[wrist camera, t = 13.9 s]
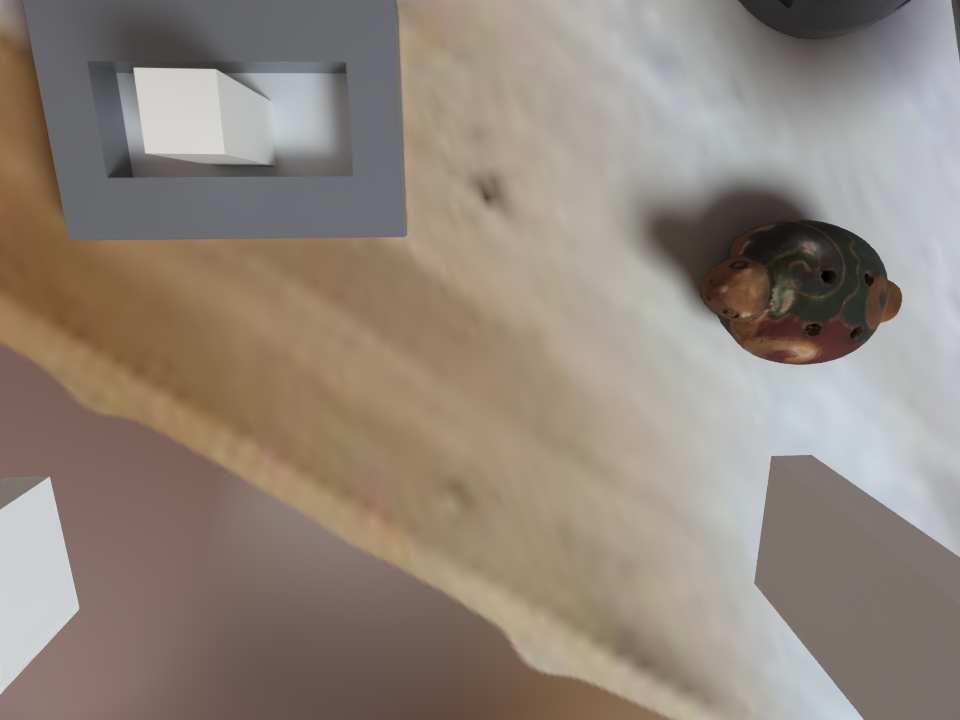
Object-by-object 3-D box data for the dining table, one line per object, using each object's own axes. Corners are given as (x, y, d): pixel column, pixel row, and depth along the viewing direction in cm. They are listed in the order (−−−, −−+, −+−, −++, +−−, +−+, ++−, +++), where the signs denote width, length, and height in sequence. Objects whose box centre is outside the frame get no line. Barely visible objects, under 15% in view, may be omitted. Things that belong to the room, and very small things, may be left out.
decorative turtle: (669, 219, 41) (730, 215, 33) (863, 223, 42) (964, 219, 35) (659, 352, 43) (714, 378, 35) (844, 350, 44) (935, 374, 37)
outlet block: (399, 11, 36) (393, -10, 33) (407, 234, 40) (403, 236, 37) (61, 8, 35) (19, -13, 32) (101, 237, 39) (68, 240, 36)
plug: (276, 166, 38) (224, 154, 29) (215, 165, 38) (145, 153, 29) (271, 101, 37) (216, 69, 28) (208, 100, 37) (133, 67, 28)
